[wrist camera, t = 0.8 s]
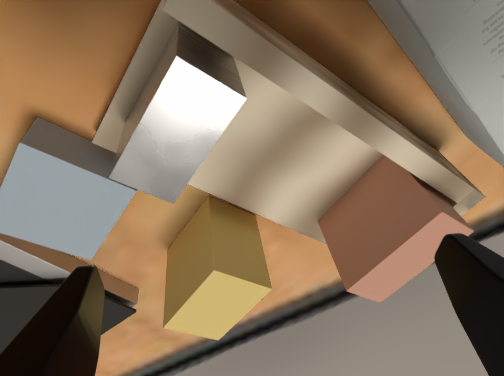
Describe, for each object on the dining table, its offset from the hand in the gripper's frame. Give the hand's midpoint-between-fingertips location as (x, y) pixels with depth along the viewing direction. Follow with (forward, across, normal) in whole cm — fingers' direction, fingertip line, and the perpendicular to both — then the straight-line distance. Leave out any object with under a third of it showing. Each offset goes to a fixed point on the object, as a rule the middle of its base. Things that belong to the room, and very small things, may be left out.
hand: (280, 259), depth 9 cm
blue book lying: (+14, +10, +6) cm, 18 cm away
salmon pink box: (+12, -9, +8) cm, 17 cm away
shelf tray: (+13, -3, +4) cm, 14 cm away
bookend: (+12, +3, 0) cm, 12 cm away
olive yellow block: (+13, +2, +12) cm, 18 cm away
